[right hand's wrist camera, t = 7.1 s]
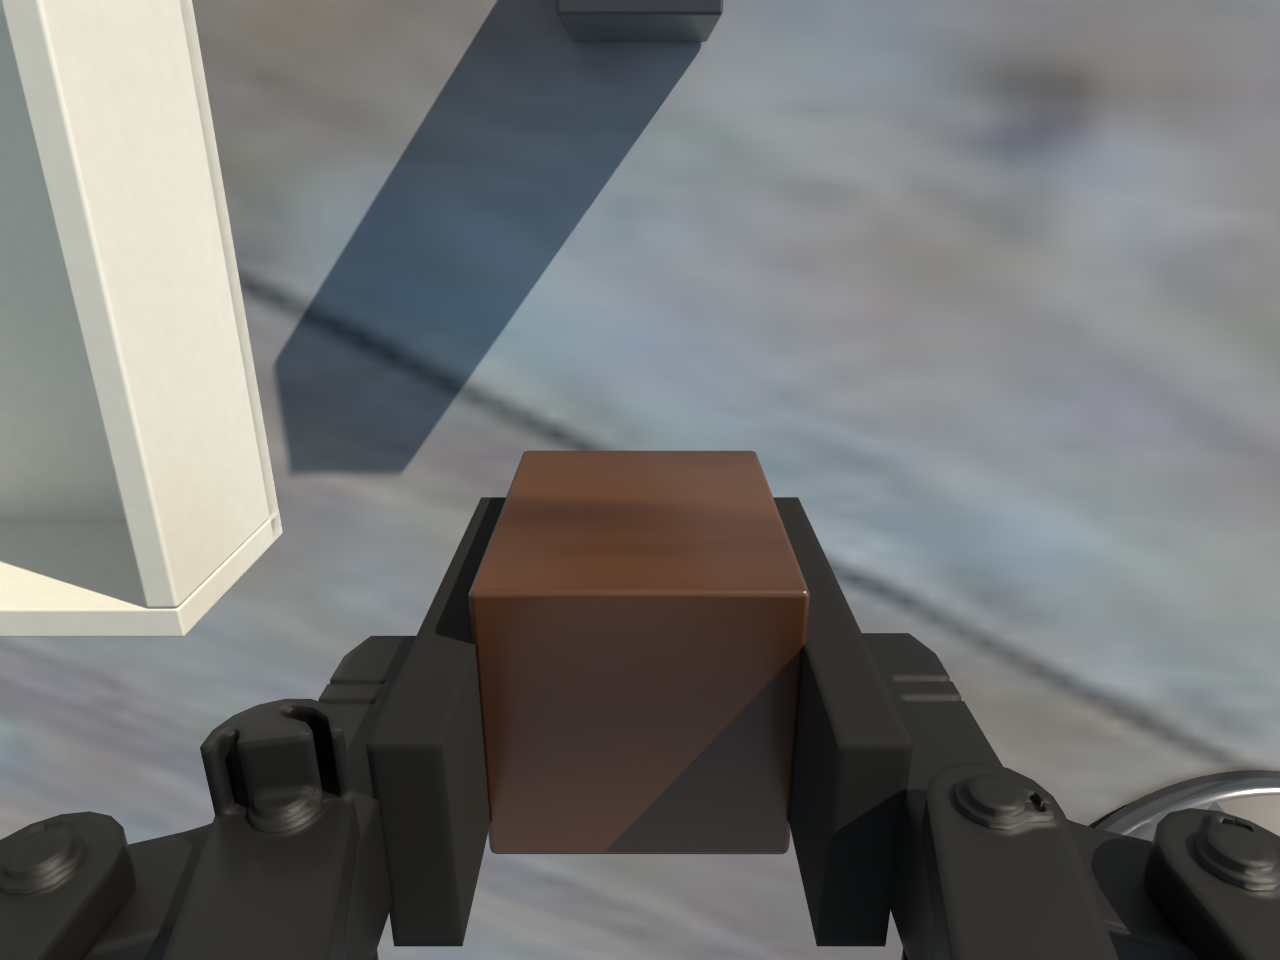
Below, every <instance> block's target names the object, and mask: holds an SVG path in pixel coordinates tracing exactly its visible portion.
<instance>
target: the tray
mask: <svg viewBox="0 0 1280 960" xmlns="http://www.w3.org/2000/svg"><path fill="white" fill-rule="evenodd" d="M281 534H282V527H281V521H280V515H279V511H278V505H277V499H276V493H275V487H274V481H273V475H272V469H271V463H270V458H269V452H268V446H267V440H266V434H265V428H264V422H263V416H262V411H261V405H260V399H259V393H258V387H257V381H256V375H255V369H254V363H253V358H252V352H251V346H250V340H249V334H248V328H247V322H246V316H245V311H244V305H243V299H242V293H241V287H240V281H239V275H238V269H237V263H236V258H235V252H234V246H233V240H232V234H231V228H230V222H229V216H228V211H227V205H226V199H225V193H224V187H223V181H222V175H221V169H220V163H219V158H218V152H217V146H216V140H215V134H214V128H213V122H212V116H211V111H210V105H209V99H208V93H207V87H206V81H205V75H204V69H203V64H202V58H201V52H200V46H199V40H198V34H197V28H196V22H195V16H194V11H193V5H192V0H0V637H183V636H185V635H186V634H187V633H188V632H189V631H190V630H191V629H192V628H193V627H194V626H195V625H196V624H197V623H198V622H199V621H200V620H201V619H202V617H203V616H204V615H205V614H206V613H207V612H208V611H209V610H210V609H211V608H212V607H213V606H214V605H215V604H216V603H217V602H218V601H219V600H220V598H221V597H222V596H223V595H224V594H225V593H226V592H227V591H228V590H229V589H230V588H231V587H232V586H233V585H234V584H235V583H236V582H237V581H238V580H239V578H240V577H241V576H242V575H243V574H244V573H245V572H246V571H247V570H248V569H249V568H250V567H251V566H252V565H253V564H254V563H255V562H256V561H257V560H258V558H259V557H260V556H261V555H262V554H263V553H264V552H265V551H266V550H267V549H268V548H269V547H270V546H271V545H272V544H273V543H274V542H275V541H276V540H277V538H278V537H279V536H280V535H281Z"/></svg>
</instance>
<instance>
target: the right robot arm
mask: <svg viewBox="0 0 1280 960" xmlns="http://www.w3.org/2000/svg"><path fill="white" fill-rule="evenodd" d="M505 499H506V498H481V499H480V502H479V504H478V506H477V508H476V510H475V512H474V514H473V517H472V519H471V521H470V523H469V525H468V527H467V529H466V531H465V534H464V536H463V538H462V540H461V542H460V544H459V546H458V549H457V551H456V553H455V555H454V557H453V559H452V561H451V564H450V566H449V568H448V570H447V572H446V574H445V576H444V578H443V581H442V583H441V585H440V587H439V589H438V591H437V593H436V596H435V598H434V600H433V602H432V604H431V606H430V608H429V611H428V613H427V615H426V617H425V619H424V621H423V623H422V626H421V628H420V630H419V632H418V634H417V636H370V637H369V638H368V639H366V640H365V641H364V642H362V643H361V644H360V645H358V646H357V647H356V648H354V649H353V650H352V651H351V652H349V653H348V654H347V655H345V656H344V658H343V659H342V661H341V663H340V664H339V666H338V668H337V669H336V671H335V673H334V674H333V676H332V678H331V679H330V684H327V686H326V688H325V690H324V691H323V693H322V695H321V696H320V698H319V701H316V700H312V699H283V700H279V701H274V702H269V703H265V704H260V705H257V706H255V707H252V708H250V709H248V710H245V711H243V712H241V713H238V714H236V715H234V716H232V717H231V718H229V719H228V720H227V721H225V722H224V723H222V724H221V725H220V726H218V727H217V728H215V729H214V730H213V731H212V732H211V733H210V735H209V736H208V737H207V739H206V740H205V741H204V743H203V744H202V745H201V747H200V750H201V754H202V759H203V763H204V768H205V772H206V776H207V781H208V785H209V790H210V794H211V798H212V803H213V807H214V812H215V818H214V821H213V823H211V824H209V825H206V826H202V827H199V828H196V829H193V830H189V831H186V832H182V833H177V834H173V835H169V836H164V837H160V838H156V839H151V840H147V841H143V842H138V843H134V844H130V845H128V844H127V840H126V836H125V833H124V829H123V827H122V826H121V825H120V824H119V823H118V822H117V821H116V820H115V819H114V818H112V817H111V816H109V815H104V814H99V813H94V812H81V813H71V814H62V815H58V816H55V817H52V818H49V819H46V820H43V821H40V822H37V823H33V824H30V825H28V826H27V827H25V828H23V829H21V830H19V831H17V832H15V833H13V834H11V835H9V836H7V837H6V838H4V839H2V840H0V960H378V954H377V947H378V944H379V941H380V938H381V935H382V932H383V929H384V926H385V923H386V920H387V917H388V914H389V913H390V920H391V927H392V934H393V941H394V946H463V941H464V937H465V932H466V928H467V923H468V919H469V915H470V910H471V906H472V901H473V897H474V892H475V888H476V883H477V879H478V875H479V870H480V866H481V861H482V857H483V852H484V848H485V843H486V839H487V835H488V830H489V826H490V815H489V803H488V791H487V779H486V767H485V754H484V742H483V730H482V718H481V706H480V694H479V682H478V670H477V658H476V646H475V645H474V644H473V642H472V630H471V618H470V607H469V592H470V589H471V587H472V584H473V582H474V579H475V577H476V574H477V571H478V569H479V566H480V564H481V561H482V559H483V556H484V553H485V551H486V548H487V546H488V543H489V541H490V538H491V535H492V533H493V530H494V528H495V525H496V523H497V520H498V517H499V515H500V512H501V510H502V507H503V505H504V502H505ZM773 499H774V502H775V504H776V507H777V509H778V512H779V515H780V517H781V520H782V522H783V525H784V528H785V530H786V533H787V536H788V538H789V541H790V543H791V546H792V549H793V551H794V554H795V557H796V559H797V562H798V564H799V567H800V570H801V572H802V575H803V577H804V580H805V583H806V585H807V588H808V591H809V593H810V603H809V615H808V626H807V638H806V643H805V645H804V650H803V662H802V674H801V686H800V699H799V711H798V723H797V735H796V747H795V759H794V771H793V783H792V796H791V808H790V820H789V824H790V828H791V833H792V837H793V842H794V846H795V850H796V855H797V859H798V864H799V868H800V873H801V877H802V882H803V886H804V890H805V895H806V899H807V904H808V908H809V913H810V917H811V922H812V926H813V930H814V935H815V939H816V944H817V946H885V944H886V937H887V930H888V922H889V915H890V909H891V912H892V915H893V918H894V921H895V924H896V927H897V930H898V933H899V936H900V939H901V942H902V945H903V954H902V960H1280V772H1279V771H1261V770H1252V771H1234V772H1226V773H1218V774H1213V775H1208V776H1202V777H1198V778H1194V779H1191V780H1187V781H1183V782H1180V783H1177V784H1174V785H1171V786H1168V787H1165V788H1163V789H1160V790H1158V791H1156V792H1153V793H1151V794H1149V795H1146V796H1144V797H1142V798H1140V799H1138V800H1136V801H1134V802H1132V803H1131V804H1129V805H1127V806H1125V807H1124V808H1122V809H1120V810H1119V811H1117V812H1115V813H1114V814H1112V815H1111V816H1110V817H1108V818H1107V819H1105V820H1104V821H1103V822H1101V823H1100V824H1098V825H1097V826H1096V827H1095V828H1092V827H1089V826H1085V825H1082V824H1079V823H1075V822H1072V821H1070V820H1068V819H1066V817H1065V814H1064V813H1063V811H1062V810H1061V808H1060V806H1059V805H1058V803H1057V802H1056V800H1055V799H1054V797H1053V796H1052V795H1051V794H1049V793H1048V792H1047V791H1046V790H1045V789H1043V788H1042V787H1041V786H1040V785H1038V784H1037V783H1036V782H1035V781H1034V780H1032V779H1029V778H1027V777H1025V776H1023V775H1021V774H1019V773H1017V772H1015V771H1013V770H1011V769H1009V768H1004V767H1003V766H1002V764H1001V762H1000V761H999V759H998V757H997V756H996V754H995V752H994V751H993V749H992V747H991V746H990V744H989V742H988V741H987V739H986V737H985V736H984V734H983V732H982V731H981V729H980V727H979V725H978V724H977V722H976V720H975V719H974V717H973V715H972V714H971V712H970V710H969V709H968V707H967V705H966V704H965V702H964V701H961V695H960V694H959V692H958V690H957V689H956V687H955V685H954V684H953V682H950V680H949V675H948V674H947V672H946V670H945V669H944V667H943V665H942V664H941V662H940V660H939V659H938V657H937V655H936V654H935V653H934V652H933V651H931V650H930V649H929V648H927V647H926V646H925V645H923V644H922V643H921V642H919V641H918V640H917V639H915V638H914V637H913V636H911V635H910V634H909V633H861V631H860V629H859V627H858V625H857V623H856V620H855V618H854V616H853V614H852V612H851V610H850V608H849V605H848V603H847V601H846V599H845V597H844V595H843V593H842V590H841V588H840V586H839V584H838V582H837V580H836V578H835V575H834V573H833V571H832V569H831V567H830V565H829V563H828V561H827V558H826V556H825V554H824V552H823V550H822V548H821V546H820V543H819V541H818V539H817V537H816V535H815V533H814V531H813V528H812V526H811V524H810V522H809V520H808V518H807V516H806V513H805V511H804V509H803V507H802V505H801V503H800V501H799V498H773Z"/></svg>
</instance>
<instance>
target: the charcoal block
mask: <svg viewBox="0 0 1280 960" xmlns="http://www.w3.org/2000/svg"><path fill="white" fill-rule="evenodd" d="M722 12H723V0H557V13H558V15H559V17H560V18H561V20H562V22H563V24H564V26H565V27H566V29H567V31H568V33H569V35H570V36H571V38H572V40H573V41H575V42H705V41H707V39H708V38H709V36H710V34H711V32H712V31H713V29H714V27H715V25H716V23H717V22H718V20H719V18H720V16H721V14H722Z"/></svg>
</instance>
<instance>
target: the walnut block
mask: <svg viewBox="0 0 1280 960" xmlns="http://www.w3.org/2000/svg"><path fill="white" fill-rule="evenodd" d="M809 603H810V593H809V591H808V588H807V585H806V583H805V580H804V577H803V575H802V572H801V570H800V567H799V564H798V562H797V559H796V557H795V554H794V551H793V549H792V546H791V543H790V541H789V538H788V536H787V533H786V530H785V528H784V525H783V522H782V520H781V517H780V515H779V512H778V509H777V507H776V504H775V502H774V499H773V496H772V494H771V491H770V488H769V486H768V483H767V481H766V478H765V475H764V473H763V470H762V468H761V465H760V462H759V460H758V457H757V454H756V452H753V451H526V452H524V453H523V456H522V458H521V461H520V464H519V466H518V469H517V471H516V474H515V476H514V479H513V481H512V484H511V487H510V489H509V492H508V494H507V497H506V499H505V502H504V505H503V507H502V510H501V512H500V515H499V517H498V520H497V523H496V525H495V528H494V530H493V533H492V535H491V538H490V541H489V543H488V546H487V548H486V551H485V553H484V556H483V559H482V561H481V564H480V566H479V569H478V571H477V574H476V577H475V579H474V582H473V584H472V587H471V589H470V592H469V607H470V618H471V630H472V642H473V644H474V645H475V646H476V658H477V670H478V682H479V694H480V706H481V718H482V730H483V742H484V754H485V767H486V779H487V791H488V803H489V815H490V826H489V830H488V834H489V846H490V849H491V851H492V852H493V853H496V854H784V853H786V852H787V851H788V848H789V841H790V829H791V828H790V824H789V820H790V808H791V796H792V783H793V771H794V759H795V747H796V735H797V723H798V711H799V699H800V686H801V674H802V662H803V650H804V645H805V643H806V638H807V626H808V615H809Z"/></svg>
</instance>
